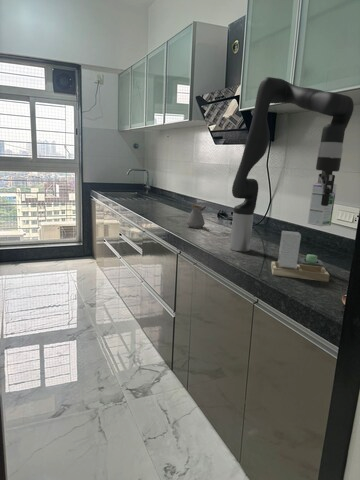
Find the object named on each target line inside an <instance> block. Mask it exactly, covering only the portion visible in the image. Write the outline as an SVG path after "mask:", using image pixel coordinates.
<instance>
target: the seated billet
mask: <svg viewBox="0 0 360 480" xmlns="http://www.w3.org/2000/svg"><path fill="white" fill-rule="evenodd" d="M301 239H302V234H301V233H300V232H299V231H290V230H281V235H280V243H279V250H278V257H277V262H278V263H277V268H283V269H291V270H296V267H297V264H298V261H299V253H300V252H299V251H300V246H301V245H300V244H301V241H302V240H301Z"/></svg>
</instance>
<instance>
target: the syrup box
mask: <svg viewBox="0 0 360 480" xmlns="http://www.w3.org/2000/svg"><path fill="white" fill-rule="evenodd" d="M324 185H325V184H324ZM327 186H328V185H327ZM327 189H328V188H327ZM322 192H323V189H322V188H321V183H318V182H316V183H315V182H313V183H312V188H311V195H310V203H309V211H308V218H307V224H309V225H312V226H318V227H328V226H329V227H330V226H331V225H332V219H333V213H334V206H335V205H334V204H335V199H336V192H337V184H336V183H334V185H333V192H332V193H331V195H330V197H329V203H328V206H322V205H321V201H322V194H323V193H322Z"/></svg>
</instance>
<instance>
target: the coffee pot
mask: <svg viewBox="0 0 360 480" xmlns="http://www.w3.org/2000/svg"><path fill="white" fill-rule="evenodd" d="M191 209H192V210H191V212H190V213H189V216H188V217H187V220H186V221H185V223H186V225H187V226H188V227H189V228H192V229H202V227H204V226H205V224H206V223H205V222H206V221H205V220H204V217H203V212H202V211H205V210H208V208H207V206H203V207H202V205H201V206H200V205H199V206H198V205H191Z"/></svg>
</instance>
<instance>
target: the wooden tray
mask: <svg viewBox="0 0 360 480" xmlns="http://www.w3.org/2000/svg"><path fill="white" fill-rule="evenodd" d="M270 263H271V264H270V270H271V273H272V274H271V275H272V276H277V277H285V278H295V279H302V280H303V279H304V280H312V281H319V282H329V281H330V274H329V272H328V270H326V268H325V266H324V267H319V266H310V265H302V264H298V263H297V267H296V270H291V269H283V268H277V263H278V261H276V260H275V261H274V260H272V261H271V262H270Z"/></svg>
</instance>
